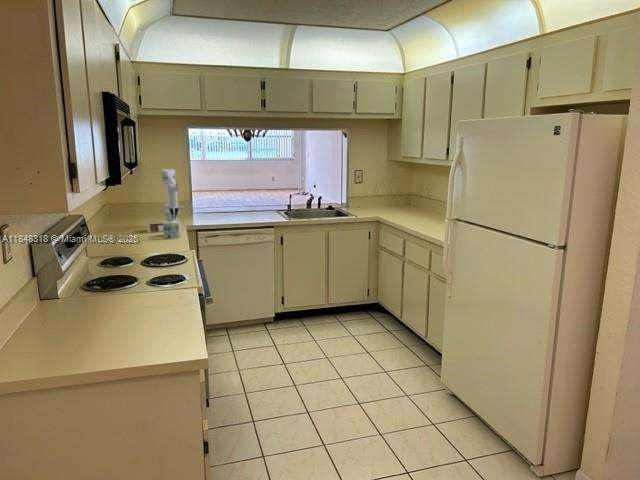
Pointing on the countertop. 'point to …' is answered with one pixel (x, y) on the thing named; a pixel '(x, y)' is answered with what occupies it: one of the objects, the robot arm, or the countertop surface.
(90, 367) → the countertop surface
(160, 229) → the book
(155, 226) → the shelf
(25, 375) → the countertop surface
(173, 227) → the light bulb box
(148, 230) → the bookend
